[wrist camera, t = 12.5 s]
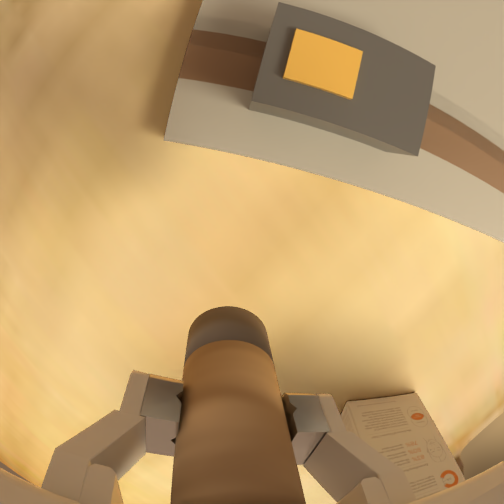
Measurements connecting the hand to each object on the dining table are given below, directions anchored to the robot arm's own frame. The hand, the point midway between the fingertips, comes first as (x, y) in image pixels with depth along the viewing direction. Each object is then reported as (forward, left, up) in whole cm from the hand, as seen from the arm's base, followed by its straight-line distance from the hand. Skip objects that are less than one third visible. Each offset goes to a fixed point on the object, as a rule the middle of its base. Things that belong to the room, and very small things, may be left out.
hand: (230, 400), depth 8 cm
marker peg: (0, 0, -3) cm, 3 cm away
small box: (+17, -14, -12) cm, 25 cm away
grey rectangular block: (+3, +11, -10) cm, 15 cm away
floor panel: (+8, +17, -11) cm, 22 cm away
